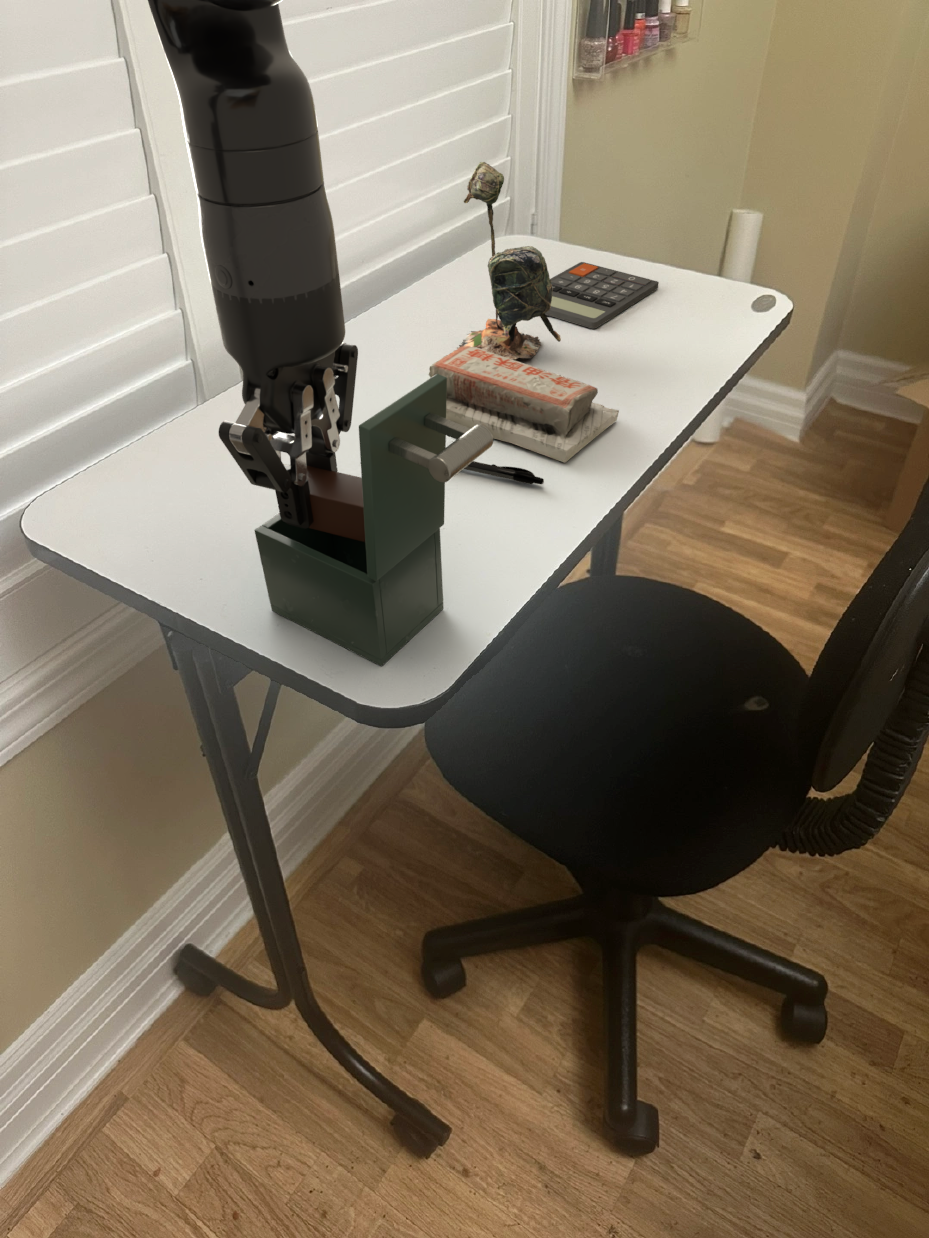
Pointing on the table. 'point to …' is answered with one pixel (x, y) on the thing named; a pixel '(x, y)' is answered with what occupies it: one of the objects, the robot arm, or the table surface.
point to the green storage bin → (349, 588)
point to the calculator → (595, 294)
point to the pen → (505, 472)
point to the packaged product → (521, 402)
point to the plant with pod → (510, 283)
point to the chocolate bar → (336, 503)
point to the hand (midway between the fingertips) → (312, 508)
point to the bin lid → (411, 471)
